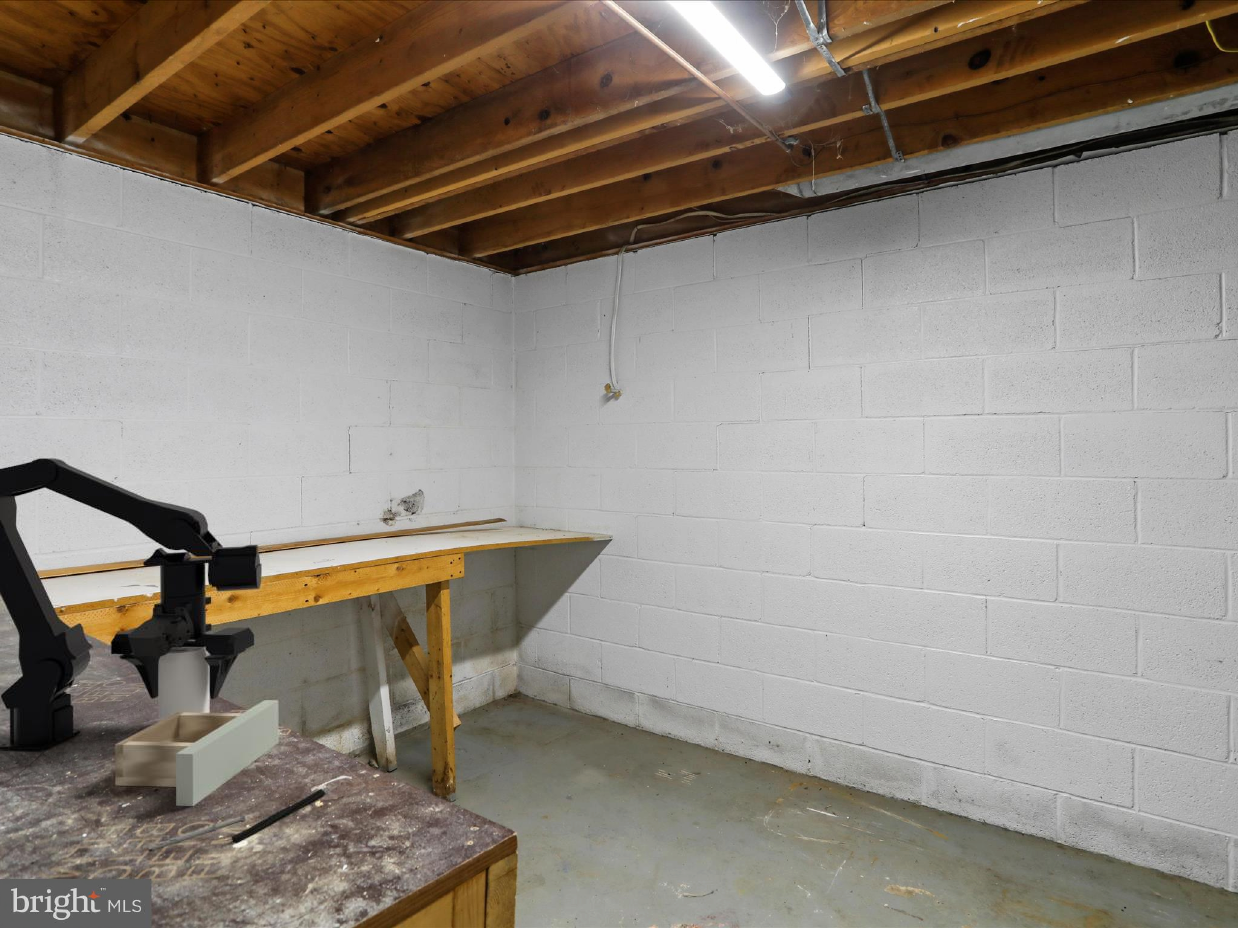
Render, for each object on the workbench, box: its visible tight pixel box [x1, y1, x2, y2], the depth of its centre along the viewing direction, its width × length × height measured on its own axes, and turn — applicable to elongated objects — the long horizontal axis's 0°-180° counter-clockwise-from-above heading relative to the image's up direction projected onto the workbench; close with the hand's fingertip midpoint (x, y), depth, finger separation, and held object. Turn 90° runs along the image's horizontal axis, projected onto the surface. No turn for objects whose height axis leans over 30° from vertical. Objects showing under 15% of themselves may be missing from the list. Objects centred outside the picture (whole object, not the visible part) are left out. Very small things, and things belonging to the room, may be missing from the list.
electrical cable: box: [231, 786, 331, 844], centre depth 78 cm, size 12×1×1 cm, turn 155°
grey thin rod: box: [150, 813, 247, 851], centre depth 74 cm, size 1×9×1 cm, turn 134°
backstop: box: [175, 699, 280, 807], centre depth 89 cm, size 2×18×6 cm, turn 177°
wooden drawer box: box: [114, 712, 244, 788], centre depth 90 cm, size 11×11×5 cm
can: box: [157, 647, 211, 722], centre depth 104 cm, size 6×6×12 cm
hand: (184, 698), depth 104 cm, fingers open, 9 cm apart
